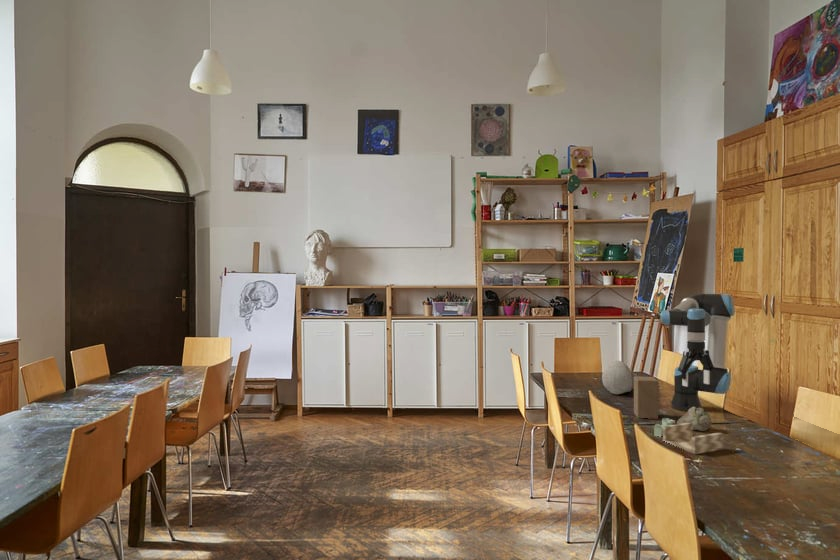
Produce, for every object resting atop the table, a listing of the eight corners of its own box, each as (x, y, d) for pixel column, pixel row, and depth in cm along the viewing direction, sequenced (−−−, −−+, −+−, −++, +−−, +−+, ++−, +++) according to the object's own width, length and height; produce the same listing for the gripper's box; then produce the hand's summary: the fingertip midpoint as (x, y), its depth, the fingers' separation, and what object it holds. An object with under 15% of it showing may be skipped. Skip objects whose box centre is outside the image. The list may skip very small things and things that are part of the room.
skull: (637, 389, 328) (636, 358, 328) (628, 398, 305) (628, 365, 305) (609, 386, 337) (609, 356, 337) (599, 395, 314) (599, 362, 314)
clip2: (656, 434, 240) (656, 423, 239) (667, 436, 236) (667, 425, 236) (654, 436, 237) (654, 425, 237) (665, 438, 234) (665, 427, 234)
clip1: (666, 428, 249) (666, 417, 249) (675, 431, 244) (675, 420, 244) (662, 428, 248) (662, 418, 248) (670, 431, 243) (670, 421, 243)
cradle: (689, 437, 235) (689, 422, 235) (723, 449, 219) (723, 433, 219) (662, 441, 230) (662, 426, 230) (694, 454, 214) (694, 438, 214)
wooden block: (658, 419, 263) (658, 380, 263) (637, 418, 265) (637, 380, 265) (653, 414, 273) (653, 376, 272) (633, 413, 275) (633, 376, 274)
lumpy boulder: (677, 426, 256) (709, 418, 251) (684, 441, 246) (717, 433, 241) (670, 408, 253) (702, 400, 248) (677, 422, 242) (711, 414, 238)
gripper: (708, 338, 253) (708, 381, 253) (669, 341, 245) (669, 385, 245) (722, 340, 246) (722, 384, 246) (682, 343, 238) (682, 388, 238)
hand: (695, 384), depth 246 cm, fingers open, 13 cm apart
